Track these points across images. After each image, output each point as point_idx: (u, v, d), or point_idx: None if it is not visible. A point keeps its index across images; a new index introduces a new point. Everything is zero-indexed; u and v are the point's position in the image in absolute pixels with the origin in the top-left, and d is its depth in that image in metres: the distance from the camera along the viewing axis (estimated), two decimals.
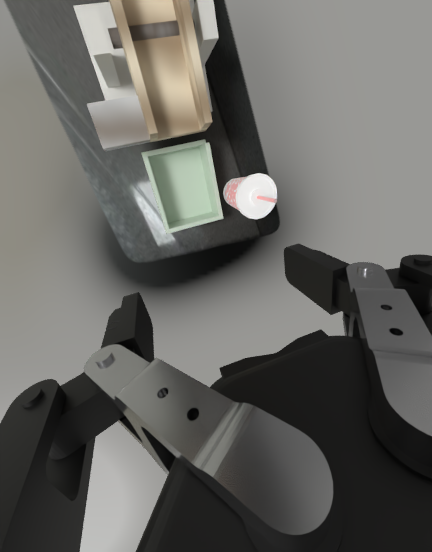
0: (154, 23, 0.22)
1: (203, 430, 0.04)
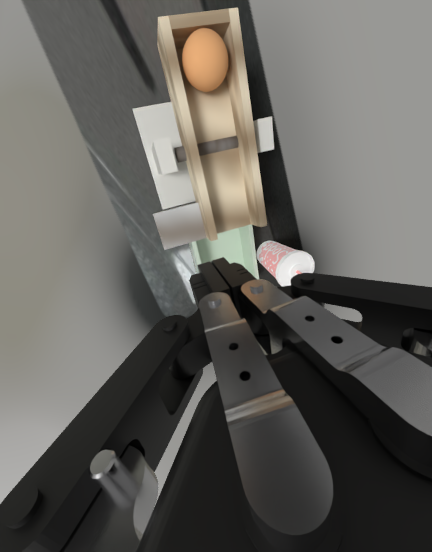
0: (216, 140, 0.24)
1: (245, 392, 0.04)
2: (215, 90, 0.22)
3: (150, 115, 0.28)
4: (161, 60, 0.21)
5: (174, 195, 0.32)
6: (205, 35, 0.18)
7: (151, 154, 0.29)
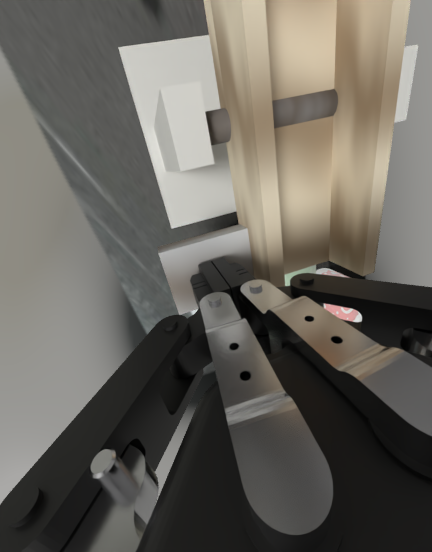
0: (296, 98, 0.11)
1: (245, 392, 0.04)
2: None
3: (151, 61, 0.15)
4: None
5: (191, 205, 0.20)
6: None
7: (153, 136, 0.17)
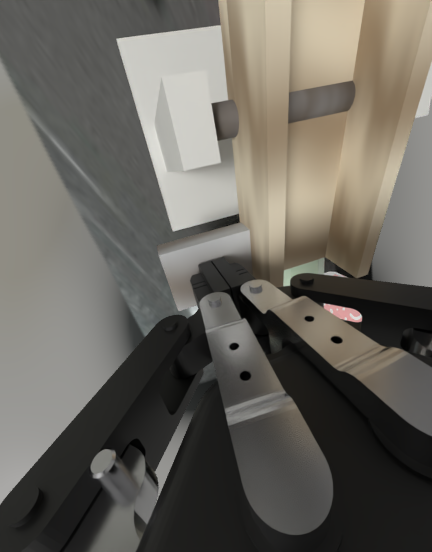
0: (311, 91, 0.10)
1: (245, 392, 0.04)
2: None
3: (151, 54, 0.14)
4: None
5: (193, 207, 0.19)
6: None
7: (154, 134, 0.16)
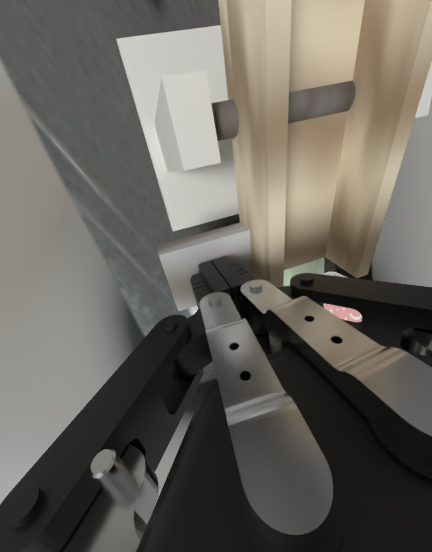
0: (311, 91, 0.10)
1: (245, 392, 0.04)
2: None
3: (151, 54, 0.14)
4: None
5: (193, 207, 0.19)
6: None
7: (154, 134, 0.16)
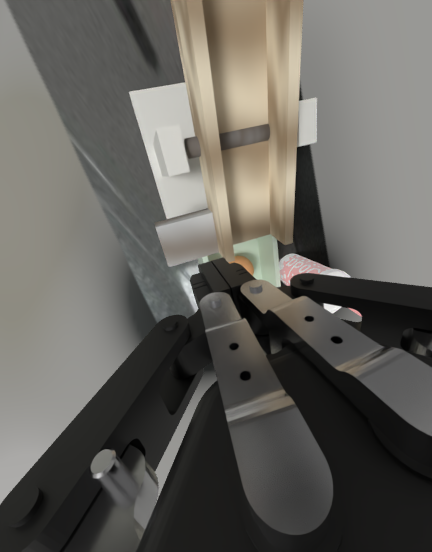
0: (242, 130, 0.17)
1: (246, 392, 0.04)
2: (248, 54, 0.15)
3: (151, 100, 0.22)
4: None
5: (181, 201, 0.26)
6: None
7: (153, 151, 0.23)
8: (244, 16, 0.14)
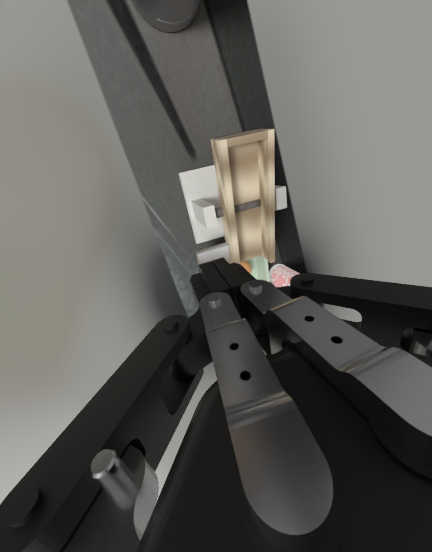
0: (246, 203, 0.32)
1: (246, 392, 0.04)
2: (249, 170, 0.30)
3: (191, 176, 0.36)
4: (212, 150, 0.28)
5: (206, 233, 0.41)
6: None
7: (190, 204, 0.38)
8: (247, 155, 0.29)
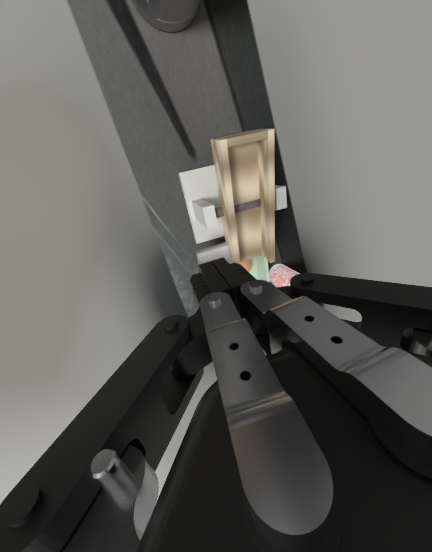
0: (246, 203, 0.32)
1: (245, 392, 0.04)
2: (249, 170, 0.30)
3: (191, 176, 0.36)
4: (212, 150, 0.28)
5: (206, 232, 0.41)
6: None
7: (190, 204, 0.38)
8: (247, 155, 0.29)
